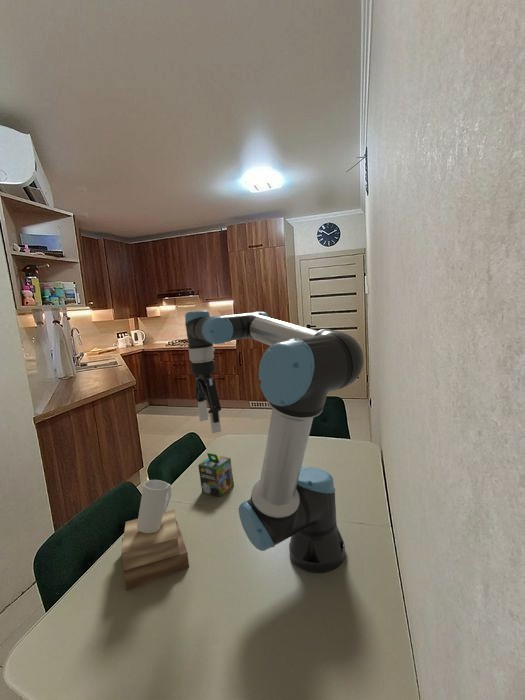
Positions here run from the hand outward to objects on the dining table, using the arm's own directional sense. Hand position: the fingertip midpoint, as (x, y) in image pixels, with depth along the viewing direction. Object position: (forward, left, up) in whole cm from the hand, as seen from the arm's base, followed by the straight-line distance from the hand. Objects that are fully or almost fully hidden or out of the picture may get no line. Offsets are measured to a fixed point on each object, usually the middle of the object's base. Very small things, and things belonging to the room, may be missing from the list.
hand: (209, 425), depth 111 cm
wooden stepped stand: (-8, +22, -32) cm, 40 cm away
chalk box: (+18, -5, -32) cm, 37 cm away
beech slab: (-8, +22, -27) cm, 36 cm away
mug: (-8, +22, -22) cm, 32 cm away
